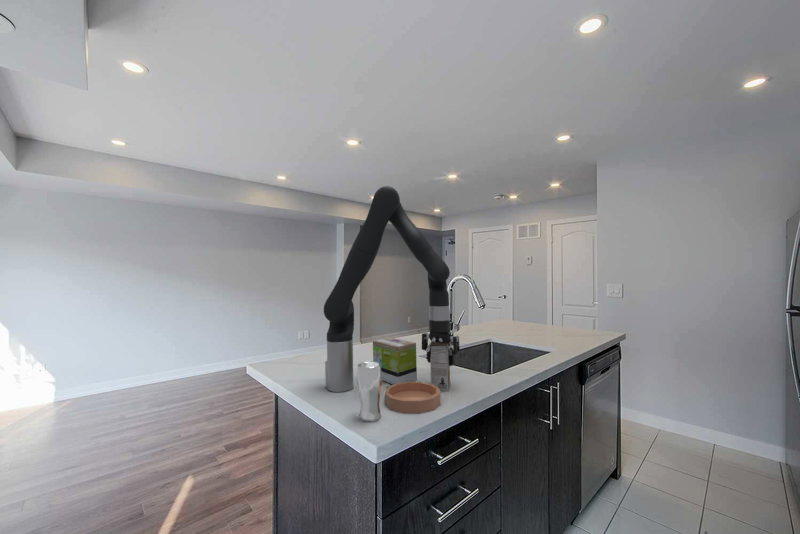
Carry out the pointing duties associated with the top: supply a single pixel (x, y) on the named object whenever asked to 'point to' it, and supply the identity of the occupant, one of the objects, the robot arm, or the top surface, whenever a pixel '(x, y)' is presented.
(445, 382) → the coffee box
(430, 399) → the terracotta dish
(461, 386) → the top surface
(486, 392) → the top surface
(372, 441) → the top surface
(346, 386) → the robot arm
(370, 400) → the beer glass
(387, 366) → the tea box
